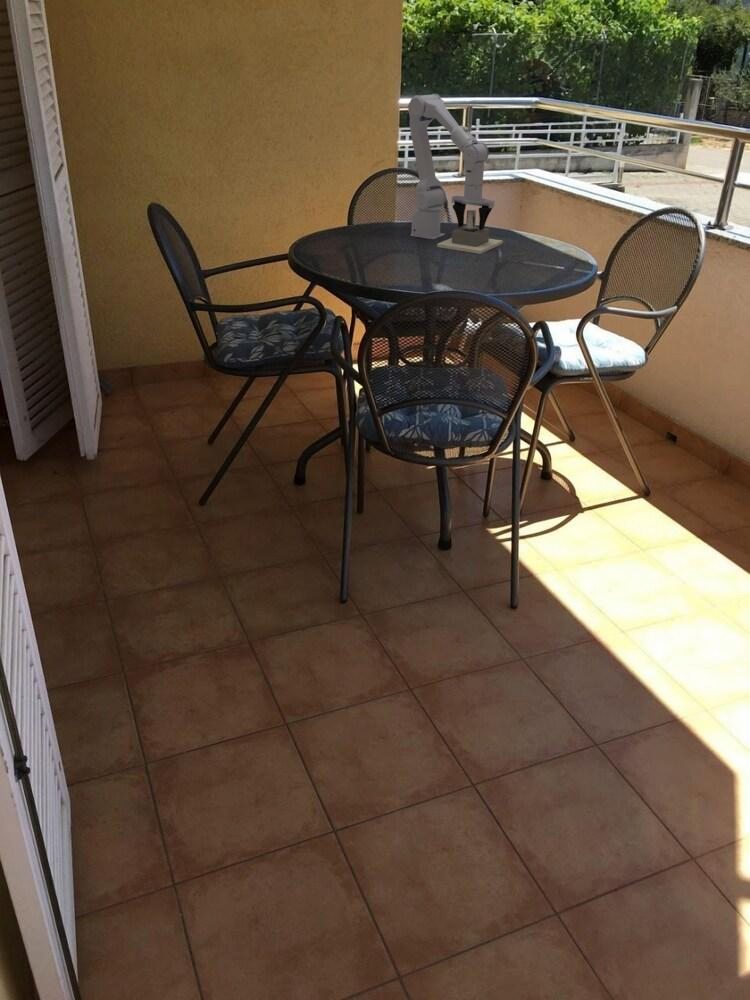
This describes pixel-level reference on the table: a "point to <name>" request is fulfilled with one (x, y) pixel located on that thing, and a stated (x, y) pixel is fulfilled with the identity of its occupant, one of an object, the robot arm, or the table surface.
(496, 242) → the socket block on plate
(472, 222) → the steel pin
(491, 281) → the table surface
